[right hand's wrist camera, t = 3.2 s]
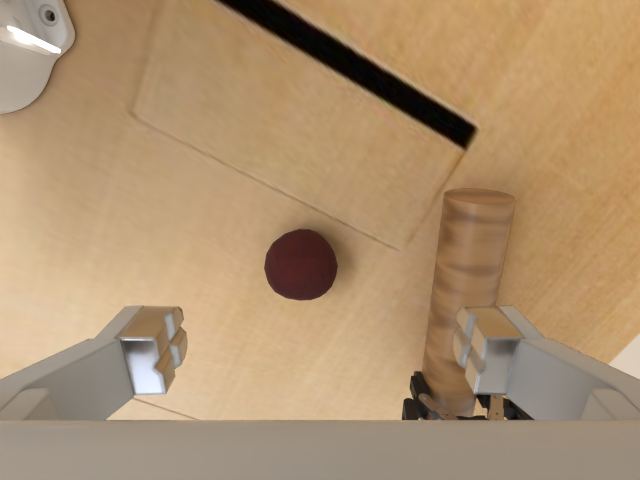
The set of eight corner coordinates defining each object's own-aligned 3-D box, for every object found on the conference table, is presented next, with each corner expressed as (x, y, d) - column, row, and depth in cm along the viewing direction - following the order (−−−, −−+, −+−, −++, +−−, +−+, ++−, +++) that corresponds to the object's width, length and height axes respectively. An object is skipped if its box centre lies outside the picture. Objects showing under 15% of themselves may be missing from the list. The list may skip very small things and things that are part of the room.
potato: (336, 279, 42) (339, 312, 35) (270, 280, 42) (261, 313, 36) (335, 220, 39) (339, 244, 33) (266, 221, 39) (255, 246, 33)
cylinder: (435, 188, 36) (458, 204, 30) (496, 188, 36) (530, 204, 30) (412, 391, 46) (426, 433, 40) (460, 390, 46) (481, 432, 40)
